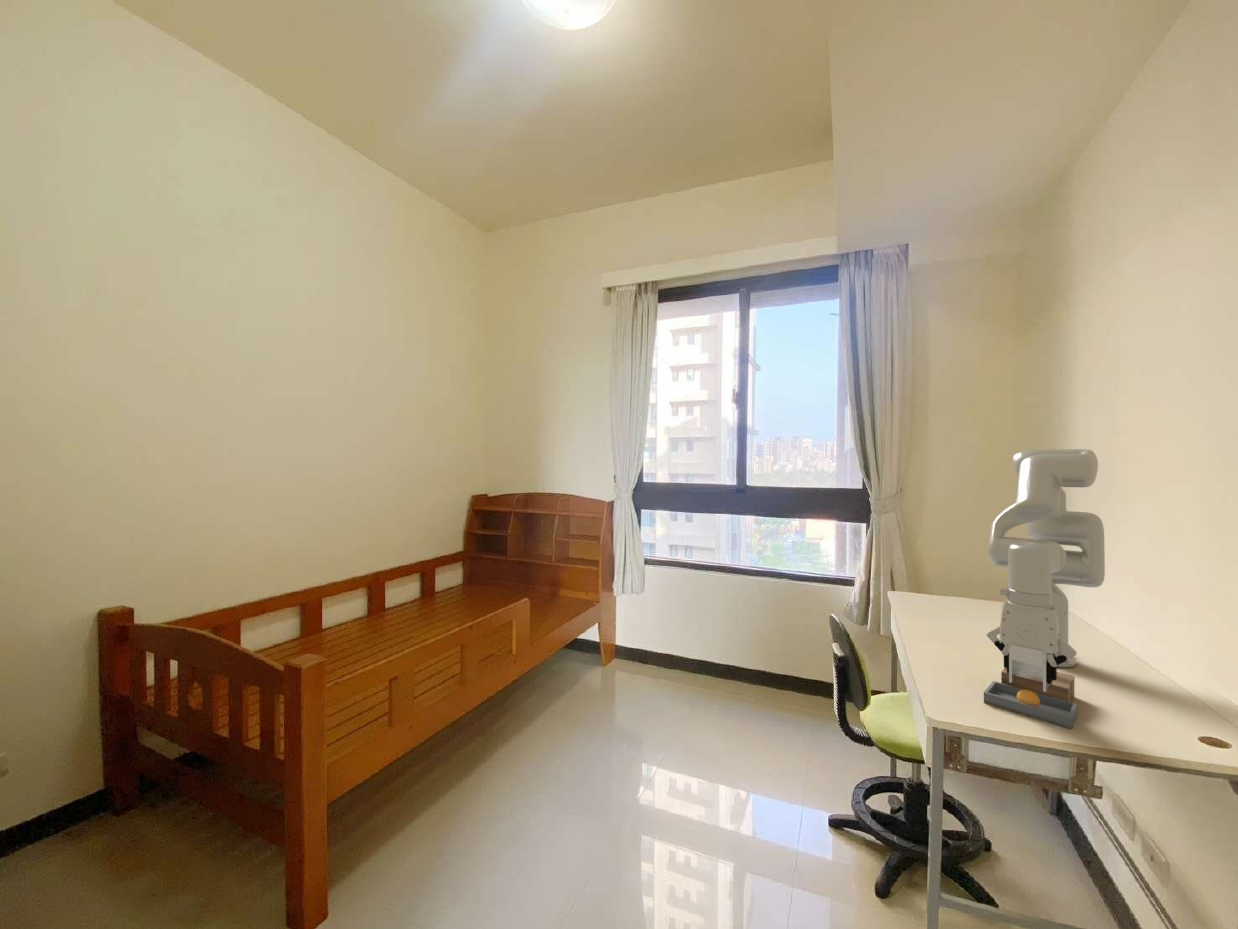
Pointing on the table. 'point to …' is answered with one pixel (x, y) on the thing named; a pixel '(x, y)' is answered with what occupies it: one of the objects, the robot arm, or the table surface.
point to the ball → (1028, 697)
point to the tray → (1046, 711)
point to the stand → (1057, 688)
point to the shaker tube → (1028, 664)
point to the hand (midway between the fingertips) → (1029, 676)
